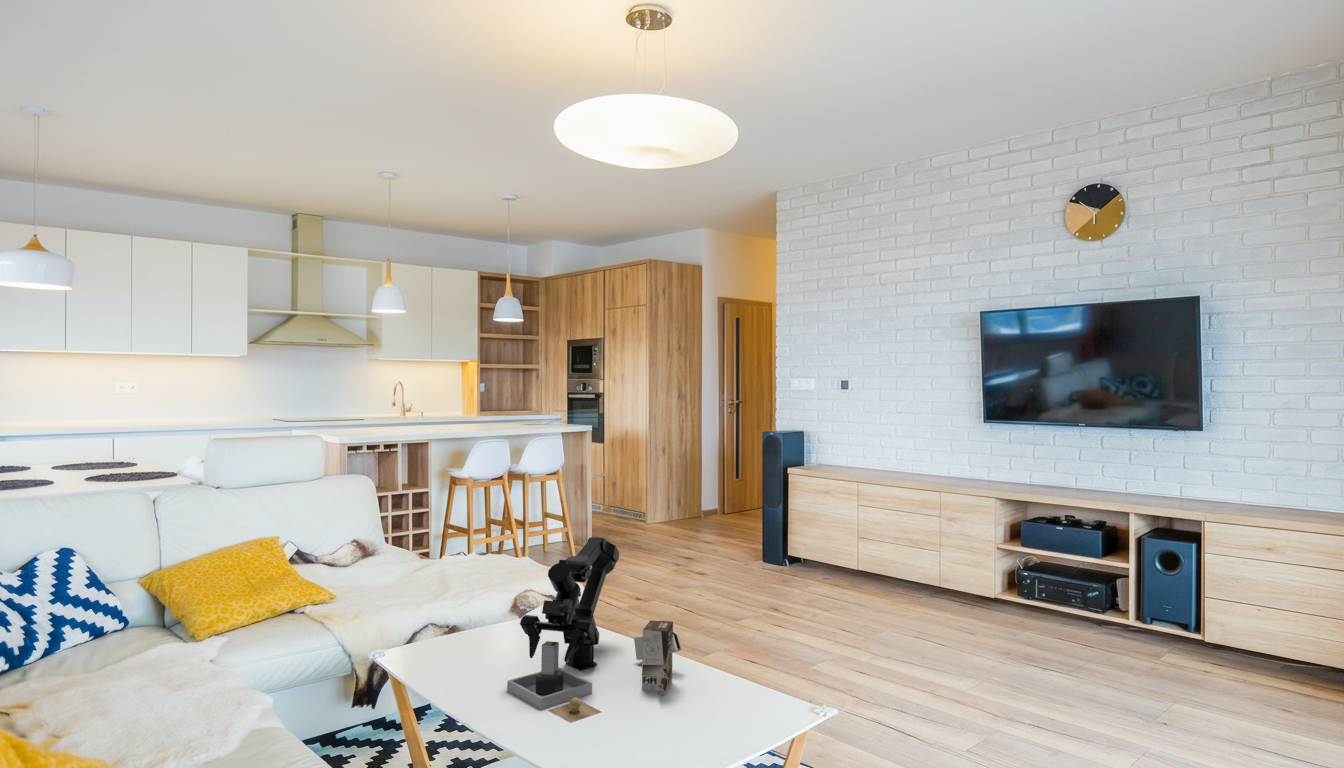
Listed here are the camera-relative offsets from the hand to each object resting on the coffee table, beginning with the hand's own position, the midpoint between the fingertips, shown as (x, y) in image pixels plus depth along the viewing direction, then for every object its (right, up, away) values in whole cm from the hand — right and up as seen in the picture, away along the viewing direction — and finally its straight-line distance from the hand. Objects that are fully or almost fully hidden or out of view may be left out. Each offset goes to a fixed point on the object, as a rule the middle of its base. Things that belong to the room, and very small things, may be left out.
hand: (548, 659), depth 190 cm
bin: (0, -10, +1) cm, 10 cm away
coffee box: (+27, -10, +8) cm, 30 cm away
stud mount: (+8, -10, -10) cm, 16 cm away
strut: (0, -9, +1) cm, 9 cm away
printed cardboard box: (+21, -8, +26) cm, 35 cm away
